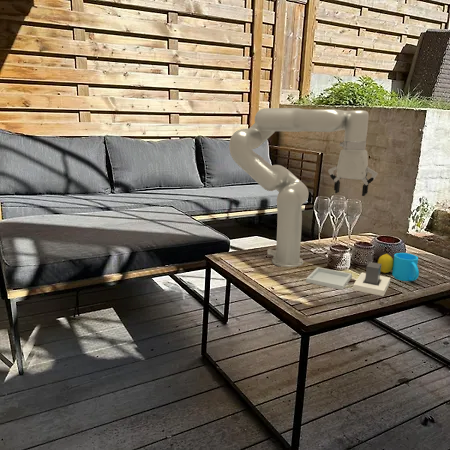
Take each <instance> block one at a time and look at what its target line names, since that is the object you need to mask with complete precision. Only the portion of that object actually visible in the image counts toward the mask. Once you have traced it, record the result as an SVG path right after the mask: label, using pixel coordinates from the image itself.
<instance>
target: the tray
mask: <svg viewBox="0 0 450 450" xmlns="http://www.w3.org/2000/svg"><path fill="white" fill-rule="evenodd" d="M352 278H353V274H352V273H351V272H345V271H341V270H335V269H329V268H324V267H319V266H317V267H316V268H314V270H313V271H312V272H311V273H310V274H309V275H308V276H307V277H306V278H305V282H306V283H309V284H311V285H313V284H314V285H318V286H321V287H326V288H331V289H332V288H333V289H335V290H341V291H343V290H344V289H345V288H346V286H347V285H348V283H349V282H350V281H351V279H352Z"/></svg>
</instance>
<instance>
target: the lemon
mask: <svg viewBox="0 0 450 450" xmlns="http://www.w3.org/2000/svg"><path fill="white" fill-rule="evenodd" d="M393 262H394V258H393V257H392V256H391V255H390V254H388V253H385V254H382V255H380V256H379V258H378V259H377V263H379V264H381V272H380V273H383V274H386V273H387V274H388V273H389V272H391V271H392V270H393Z"/></svg>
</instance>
